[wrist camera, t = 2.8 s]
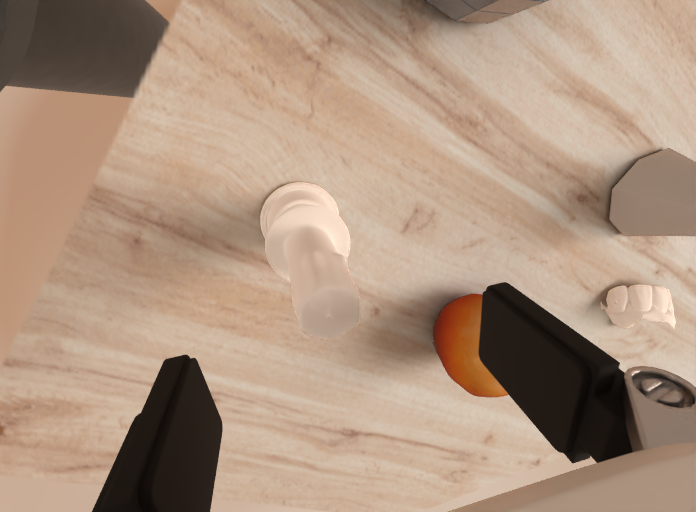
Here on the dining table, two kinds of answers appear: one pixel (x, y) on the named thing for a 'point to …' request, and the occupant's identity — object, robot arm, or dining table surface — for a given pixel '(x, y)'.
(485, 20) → the bowl
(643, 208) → the flask
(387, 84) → the dining table surface
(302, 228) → the candle
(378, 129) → the dining table surface
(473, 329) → the fruit
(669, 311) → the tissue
